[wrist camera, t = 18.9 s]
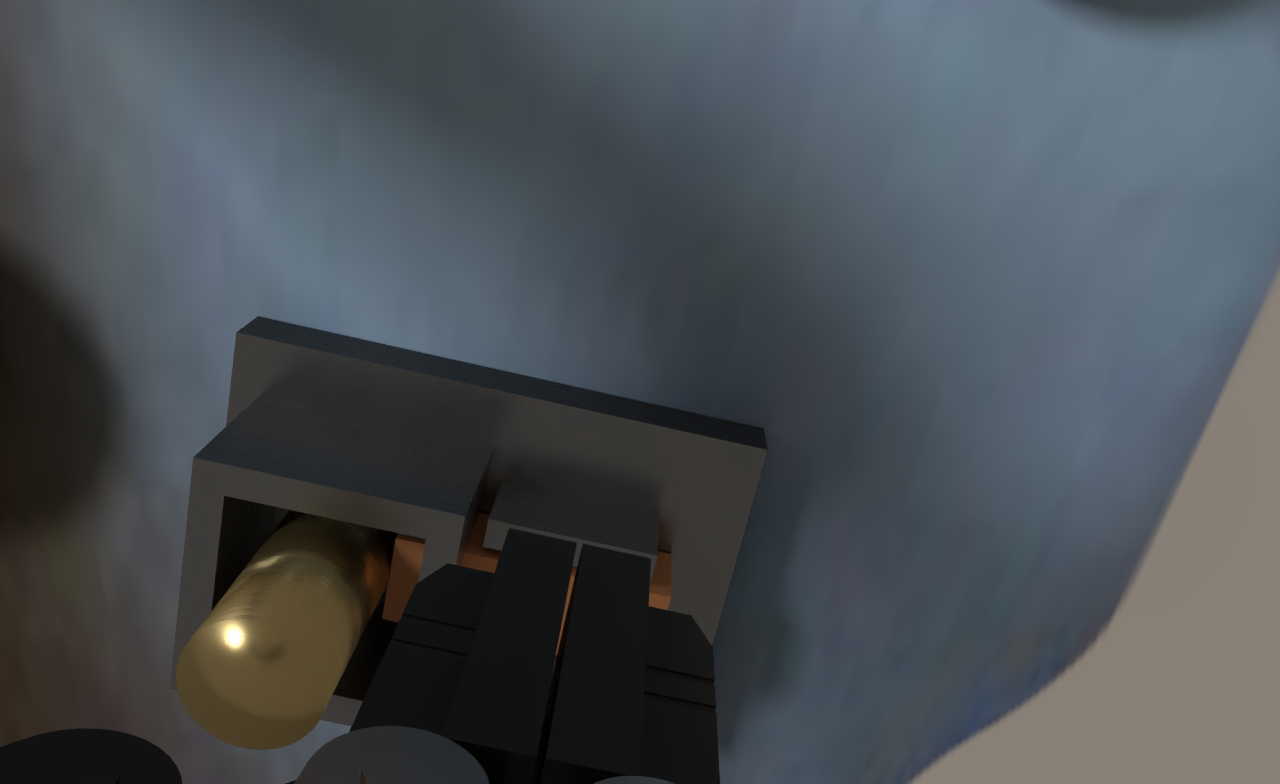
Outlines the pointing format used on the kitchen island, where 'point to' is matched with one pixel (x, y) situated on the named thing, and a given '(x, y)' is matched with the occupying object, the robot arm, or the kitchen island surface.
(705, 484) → the dock
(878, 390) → the kitchen island surface
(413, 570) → the lock pin
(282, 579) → the brass peg
